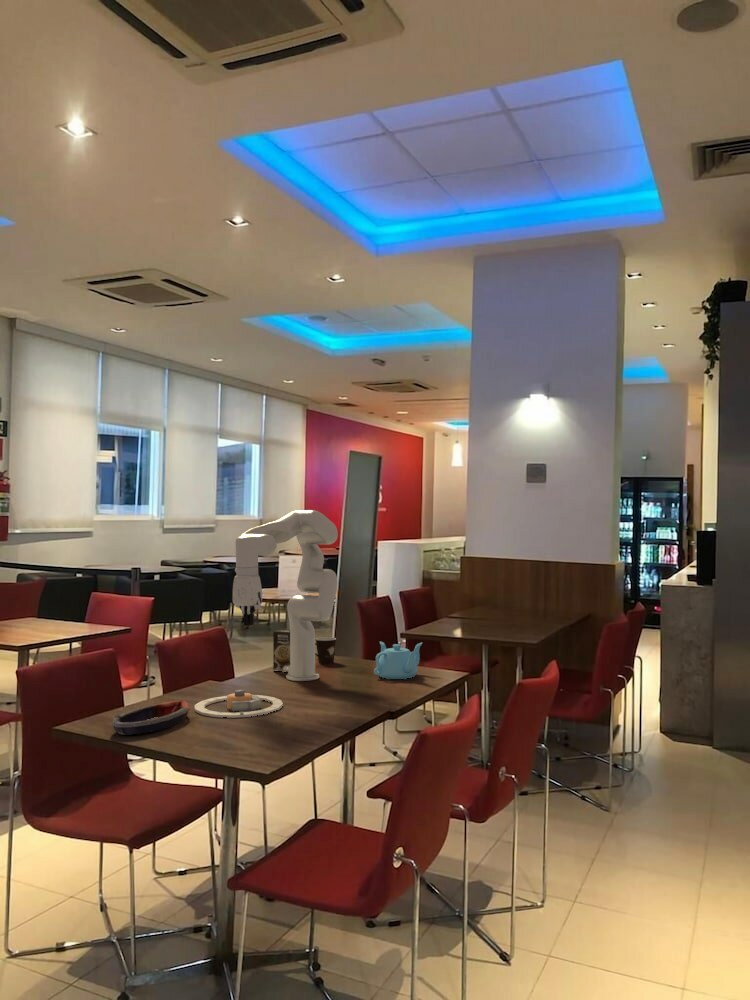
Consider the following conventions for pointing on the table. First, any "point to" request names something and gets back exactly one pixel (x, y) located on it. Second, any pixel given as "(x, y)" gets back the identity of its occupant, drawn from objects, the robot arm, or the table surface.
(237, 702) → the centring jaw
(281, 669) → the coffee box
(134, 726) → the dish
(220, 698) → the turntable ring
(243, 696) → the orange pumpkin
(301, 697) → the table surface
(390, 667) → the teapot
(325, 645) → the coffee mug
